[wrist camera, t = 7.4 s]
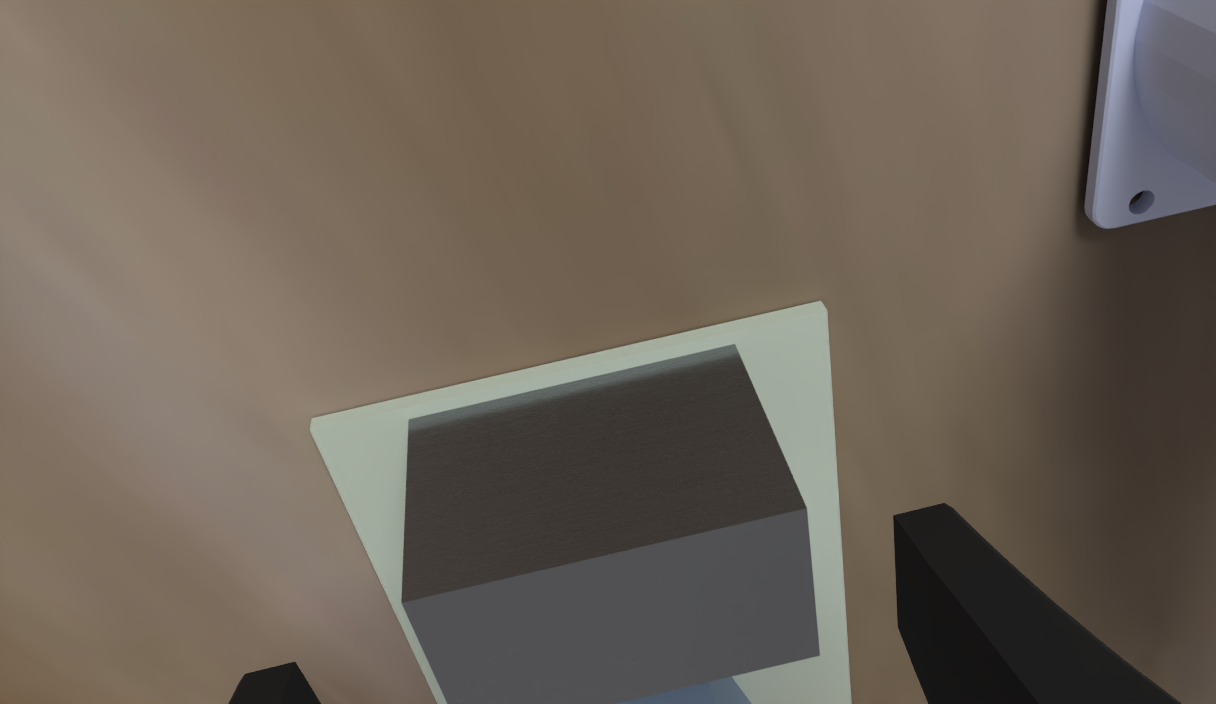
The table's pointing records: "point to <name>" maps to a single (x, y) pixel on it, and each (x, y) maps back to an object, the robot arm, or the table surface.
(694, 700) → the slate blue carton
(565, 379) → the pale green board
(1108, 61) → the robot arm
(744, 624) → the grey toy block
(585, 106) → the table surface
